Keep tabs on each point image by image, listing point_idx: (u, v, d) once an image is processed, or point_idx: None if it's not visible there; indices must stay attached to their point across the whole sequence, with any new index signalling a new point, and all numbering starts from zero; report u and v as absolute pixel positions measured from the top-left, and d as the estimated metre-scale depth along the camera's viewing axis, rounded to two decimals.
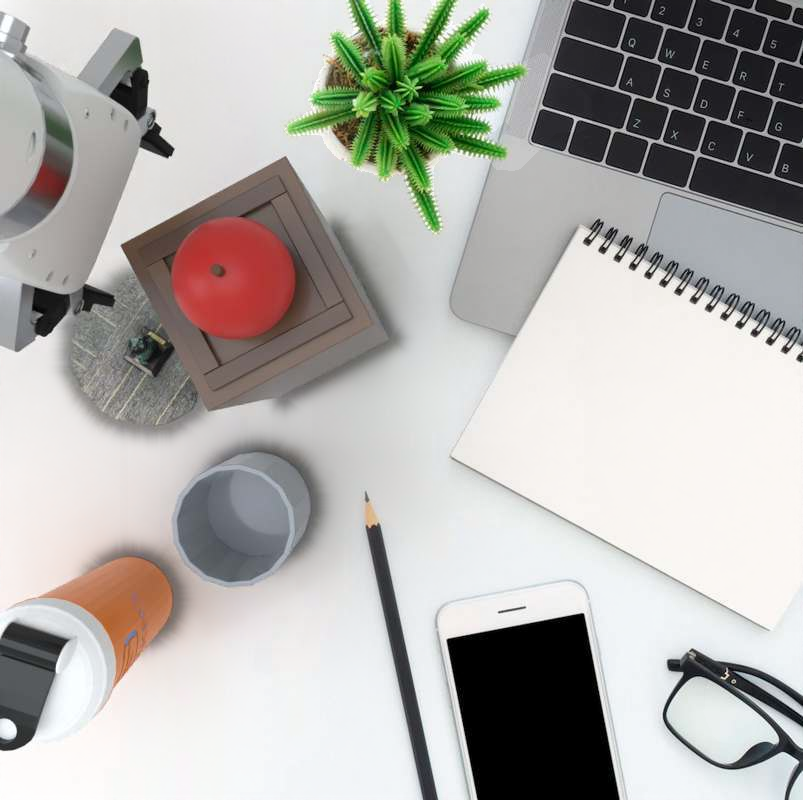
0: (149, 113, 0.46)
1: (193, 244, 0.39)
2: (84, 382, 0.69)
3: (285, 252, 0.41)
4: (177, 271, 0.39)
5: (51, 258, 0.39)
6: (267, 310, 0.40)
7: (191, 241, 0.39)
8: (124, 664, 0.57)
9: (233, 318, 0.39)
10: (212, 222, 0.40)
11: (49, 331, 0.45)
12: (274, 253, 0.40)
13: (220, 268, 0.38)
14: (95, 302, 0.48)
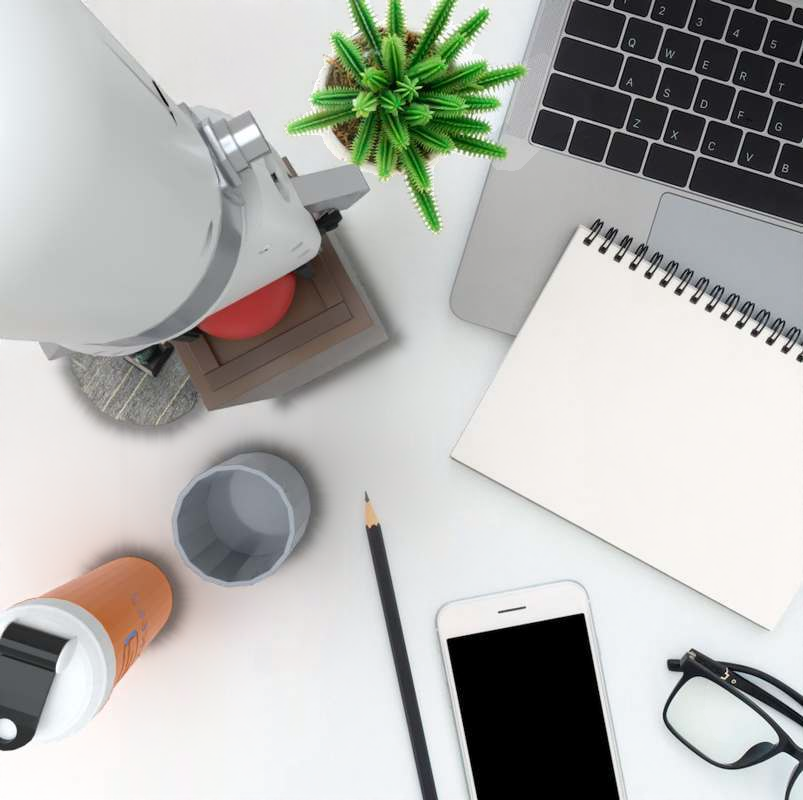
0: None
1: None
2: (84, 382, 0.69)
3: None
4: None
5: None
6: (267, 310, 0.40)
7: None
8: (124, 664, 0.57)
9: (233, 318, 0.39)
10: None
11: None
12: None
13: None
14: (176, 339, 0.40)
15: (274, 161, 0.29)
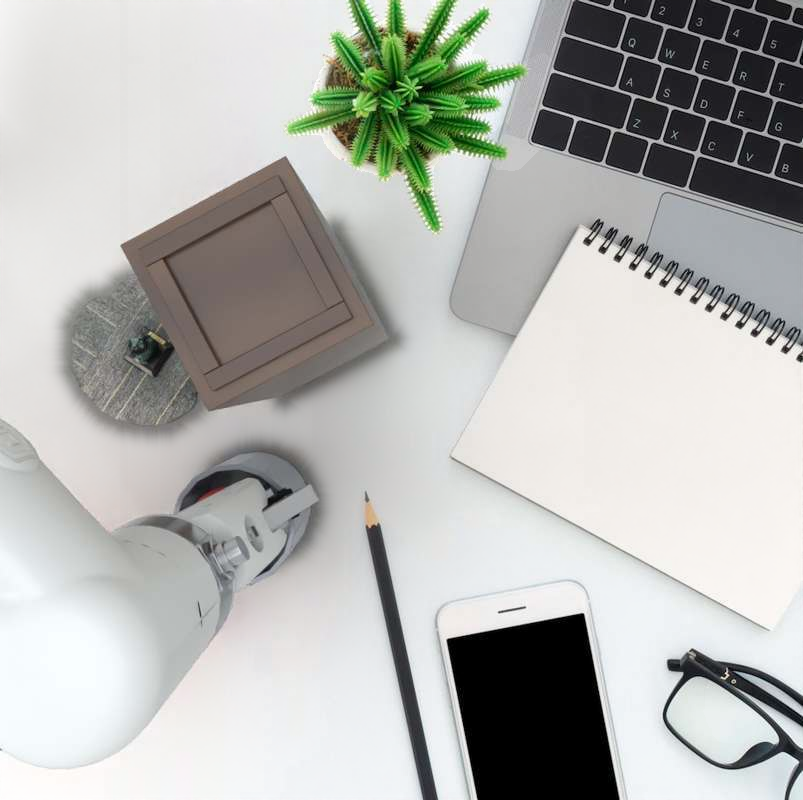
0: (285, 526, 0.55)
1: None
2: (84, 382, 0.69)
3: None
4: None
5: None
6: None
7: None
8: None
9: None
10: None
11: None
12: None
13: None
14: None
15: (253, 519, 0.47)
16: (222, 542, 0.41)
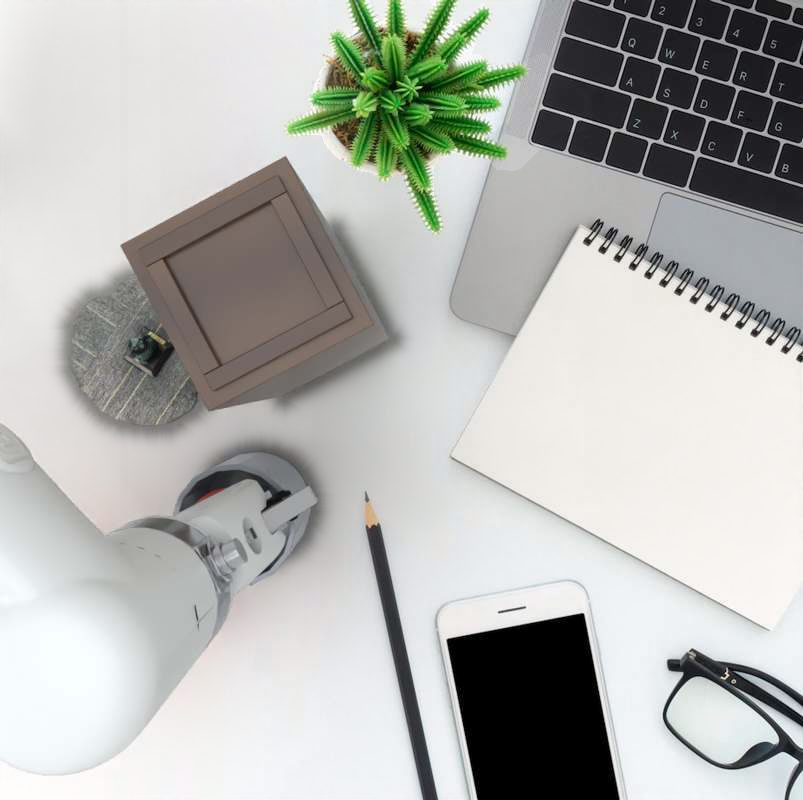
0: (283, 528, 0.55)
1: None
2: (84, 382, 0.69)
3: None
4: None
5: None
6: None
7: None
8: None
9: None
10: None
11: None
12: None
13: None
14: None
15: (252, 521, 0.46)
16: (220, 544, 0.41)
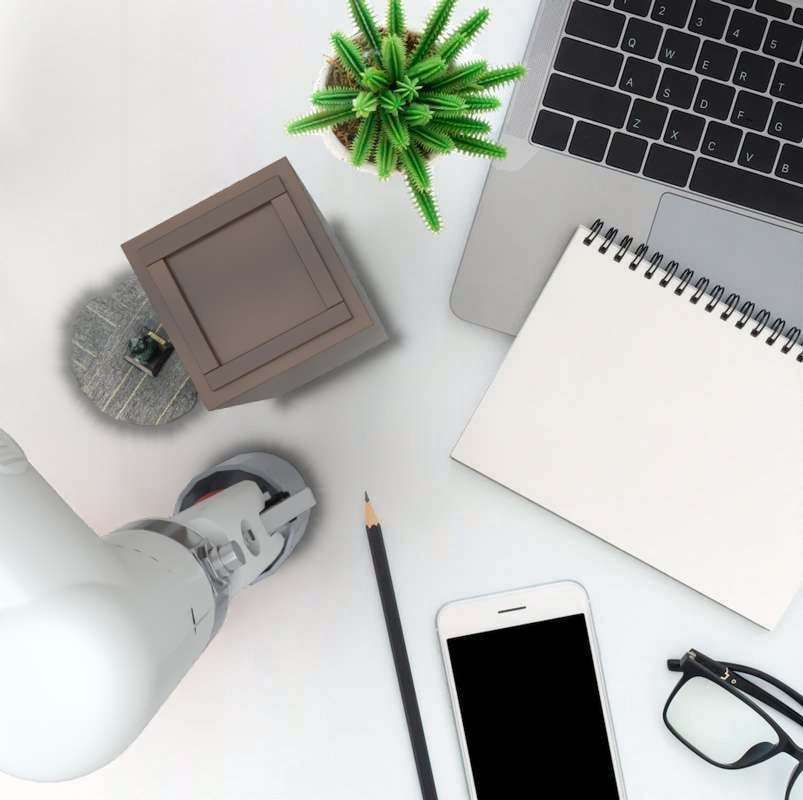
0: (282, 530, 0.54)
1: None
2: (84, 382, 0.69)
3: None
4: None
5: None
6: None
7: None
8: None
9: None
10: None
11: None
12: None
13: None
14: None
15: (250, 523, 0.46)
16: (217, 546, 0.40)
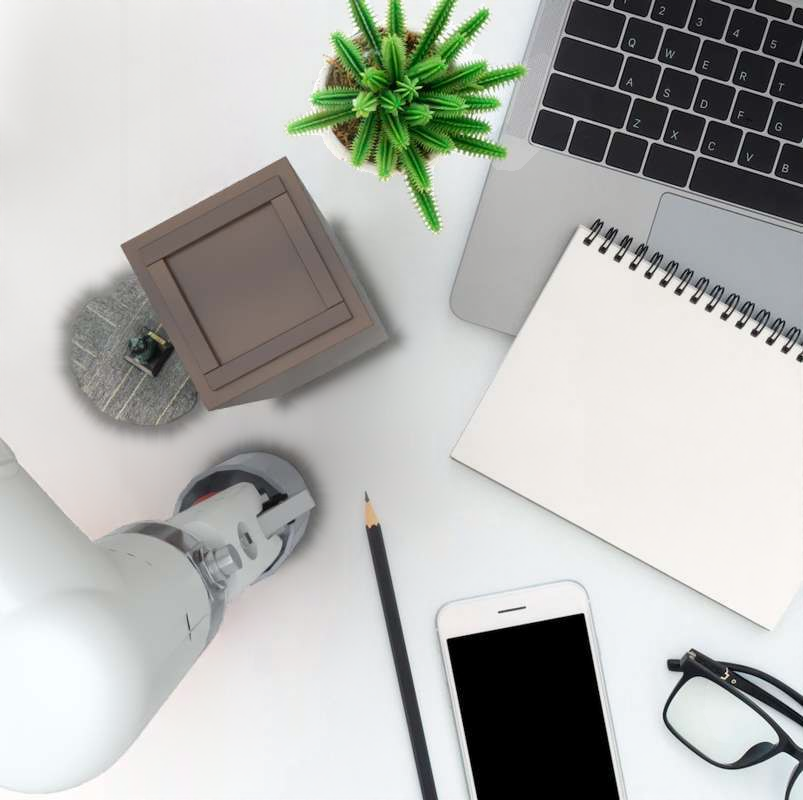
0: (280, 532, 0.53)
1: None
2: (84, 382, 0.69)
3: None
4: None
5: None
6: None
7: None
8: None
9: None
10: None
11: None
12: None
13: None
14: None
15: (247, 526, 0.45)
16: (213, 550, 0.40)
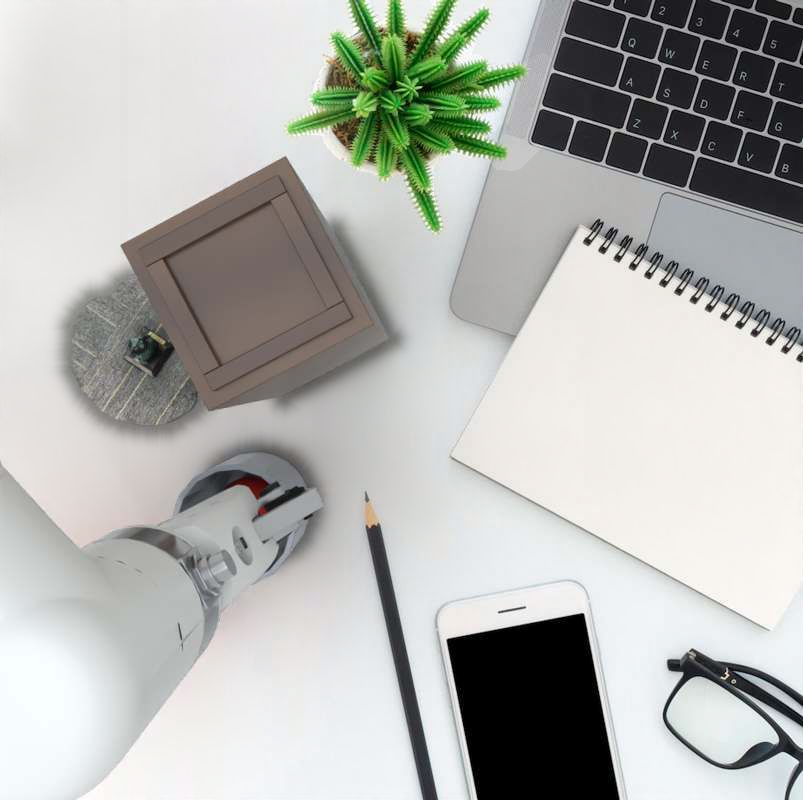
0: (294, 529, 0.51)
1: None
2: (84, 382, 0.69)
3: None
4: None
5: None
6: None
7: None
8: None
9: None
10: None
11: None
12: None
13: None
14: None
15: (242, 530, 0.44)
16: (207, 556, 0.38)
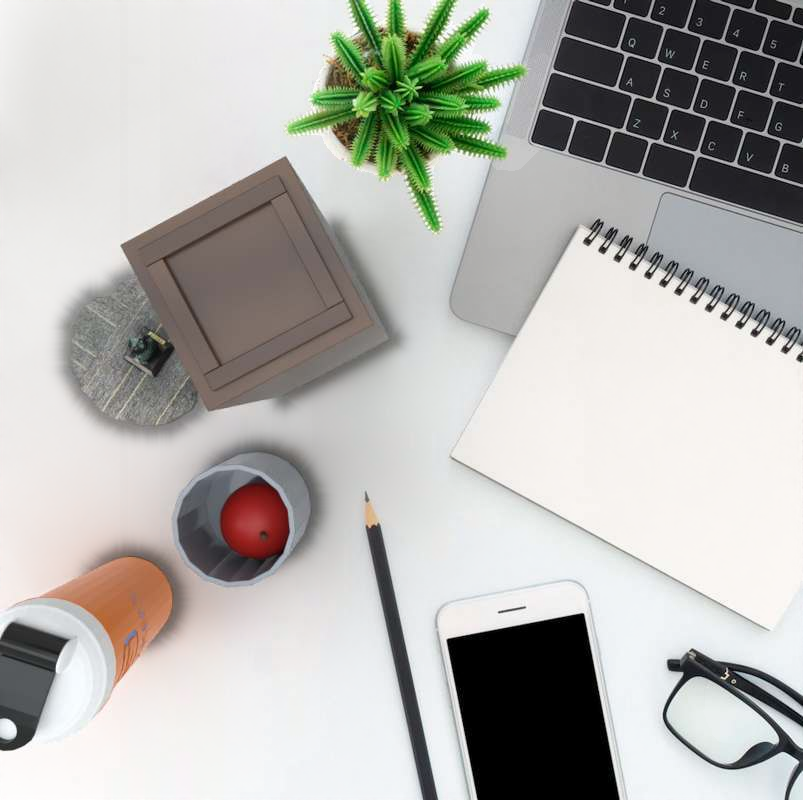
0: None
1: (243, 515, 0.63)
2: (84, 382, 0.69)
3: None
4: (231, 530, 0.63)
5: None
6: None
7: (240, 512, 0.63)
8: (124, 664, 0.57)
9: (267, 555, 0.64)
10: (251, 496, 0.63)
11: None
12: None
13: (266, 536, 0.62)
14: None
15: None
16: None
